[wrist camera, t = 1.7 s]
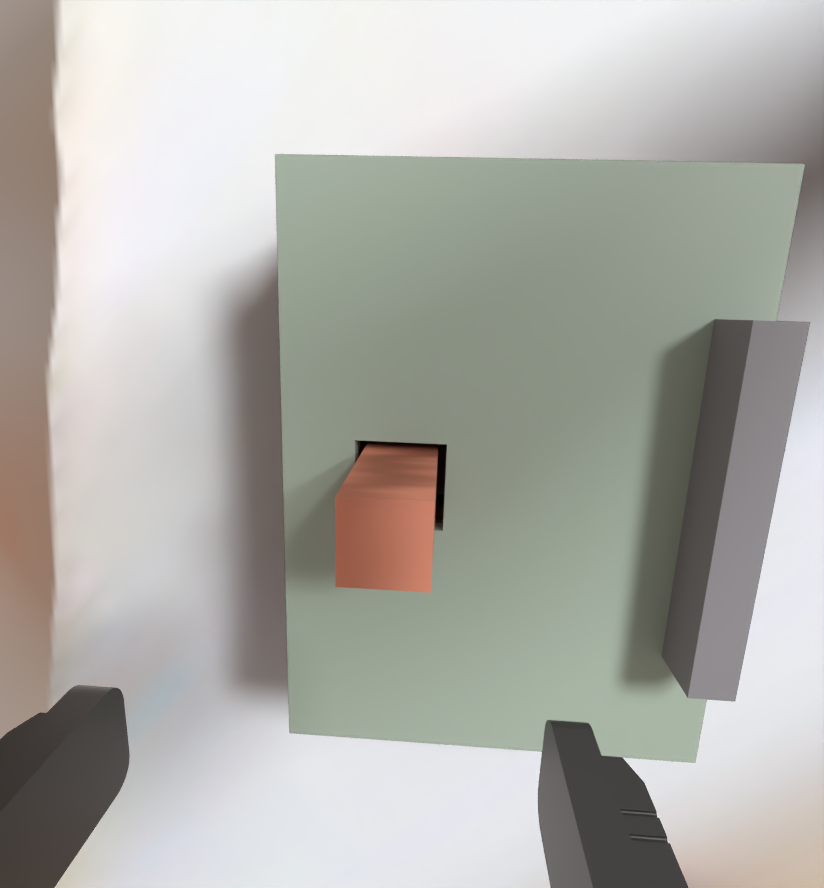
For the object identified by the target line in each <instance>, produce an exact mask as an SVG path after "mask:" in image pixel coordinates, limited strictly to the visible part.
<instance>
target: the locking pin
mask: <svg viewBox="0 0 824 888" xmlns="http://www.w3.org/2000/svg"><path fill="white" fill-rule="evenodd" d="M438 447H439V444H426V443H404V442H381V441H368V443H367V445H366V446H365V448H364V450H363V451H362V453H361V455H360V456H359V458H358V460H357V461H356V463H355V465H354V466H353V468H352V470H351V471H350V473H349V475H348V476H347V478H346V479H345V481H344V483H343V484H342V486H341V488H340V489H339V491H338V493H337V494H336V496H335V587H343V588H360V589H377V590H394V591H411V592H428V593H431V580H432V562H433V544H434V527H435V509H436V491H437V470H438Z"/></svg>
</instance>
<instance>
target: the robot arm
mask: <svg viewBox="0 0 824 888" xmlns="http://www.w3.org/2000/svg"><path fill="white" fill-rule="evenodd" d="M128 765H129V746H128V736H127V727H126V717H125V708H124V698H123V694H122V692H121V690H120V689H118V688H112V687H98V686H84V685H78V686H75V687H73V688H71V689H70V690H69V691H68V692H67V693H66V694H65V695H64V696H63V697H62V698H61V699H60V700H59V701H58V702H57V703H56V704H55V705H54V706H53V707H52V708H51V709H50V710H49V711H48V712H47V713H39V714H37V715H35V716H34V717H32V718H30V719H29V720H27V721H25V722H24V723H22V724H21V725H19V726H17V727H16V728H14V729H13V730H11V731H9V732H8V733H7V734H6V735H4V736H3V737H2V738H1V739H0V888H54V887H55V886H56V884H57V883H58V881H59V880H60V878H61V877H62V875H63V874H64V872H65V871H66V869H67V868H68V867H69V865H70V864H71V862H72V861H73V859H74V858H75V856H76V855H77V853H78V852H79V850H80V849H81V847H82V846H83V844H84V843H85V842H86V840H87V839H88V837H89V836H90V834H91V833H92V831H93V830H94V828H95V827H96V825H97V824H98V822H99V821H100V819H101V818H102V817H103V815H104V814H105V812H106V811H107V809H108V808H109V806H110V805H111V803H112V802H113V800H114V799H115V797H116V796H117V794H118V793H119V791H120V789H121V787H122V785H123V783H124V780H125V777H126V774H127V770H128ZM538 814H539V824H540V831H541V837H542V842H543V848H544V853H545V858H546V864H547V869H548V875H549V880H550V886H551V888H688V886H687V883H686V881H685V878H684V876H683V874H682V871H681V869H680V867H679V864H678V862H677V859H676V857H675V855H674V852H673V850H672V848H671V845H670V844H668V842H667V836H666V833H665V831H664V829H663V826H662V824H661V821H660V819H659V818H657V814H656V810H655V807H654V805H653V802H652V800H651V798H650V795H649V793H648V791H647V788H646V786H645V783H644V782H643V781H642V780H641V778H640V777H639V776H638V775H637V774H636V773H635V772H634V771H633V769H632V768H631V767H630V766H629V765H628V764H627V763H626V761H625V760H624V759H623V758H622V757H613V756H602V755H601V753H600V750H599V747H598V744H597V741H596V738H595V735H594V733H593V730H592V727H591V726H590V724H589V723H586V722H572V721H558V720H547V721H546V724H545V730H544V739H543V748H542V758H541V767H540V776H539V786H538Z"/></svg>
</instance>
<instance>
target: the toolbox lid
mask: <svg viewBox="0 0 824 888" xmlns="http://www.w3.org/2000/svg"><path fill="white" fill-rule="evenodd" d="M804 168H805V164H799V163H743V162H688V161H632V160H577V159H521V158H465V157H410V156H354V155H299V154H275V179H276V219H277V259H278V300H279V340H280V380H281V420H282V460H283V501H284V541H285V581H286V621H287V661H288V702H289V733H296V734H309V735H323V736H336V737H350V738H364V739H377V740H391V741H405V742H418V743H432V744H445V745H459V746H473V747H486V748H500V749H514V750H527V751H541V752H542V748H543V739H544V730H545V724H546V721H547V720H558V721H572V722H586V723H589V724H590V726H591V727H592V730H593V733H594V735H595V738H596V741H597V744H598V747H599V750H600V753H601V755H602V756H613V757H623V758H636V759H650V760H664V761H677V762H691V763H695V762H696V756H697V751H698V745H699V740H700V734H701V729H702V724H703V718H704V713H705V707H706V702H707V699H708V700H723V701H735V699H736V694H737V689H738V684H739V679H740V674H741V669H742V664H743V659H744V654H745V649H746V644H747V639H748V634H749V629H750V624H751V618H752V613H753V608H754V603H755V598H756V593H757V588H758V583H759V578H760V573H761V568H762V563H763V558H764V553H765V548H766V543H767V538H768V533H769V527H770V522H771V517H772V512H773V507H774V502H775V497H776V492H777V487H778V482H779V477H780V472H781V467H782V462H783V457H784V452H785V447H786V441H787V436H788V431H789V426H790V421H791V416H792V411H793V406H794V401H795V396H796V391H797V386H798V381H799V376H800V371H801V366H802V361H803V355H804V350H805V345H806V340H807V335H808V330H809V325H810V322H790V321H776V320H777V315H778V309H779V304H780V298H781V293H782V287H783V282H784V277H785V271H786V266H787V260H788V255H789V249H790V244H791V238H792V233H793V228H794V222H795V217H796V211H797V206H798V200H799V195H800V189H801V184H802V178H803V173H804ZM358 440H359V441H381V442H404V443H426V444H447V450H446V471H445V492H444V513H443V523H435V527H434V544H433V562H432V580H431V593H428V592H411V591H394V590H377V589H360V588H343V587H335V496H336V494H337V493H338V491H339V489H340V488H341V486H342V484H343V483H344V481H345V479H346V478H347V476H348V475H349V473H350V471H351V470H352V468H353V466H354V465H355V463H356V461H357V460H358Z"/></svg>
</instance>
